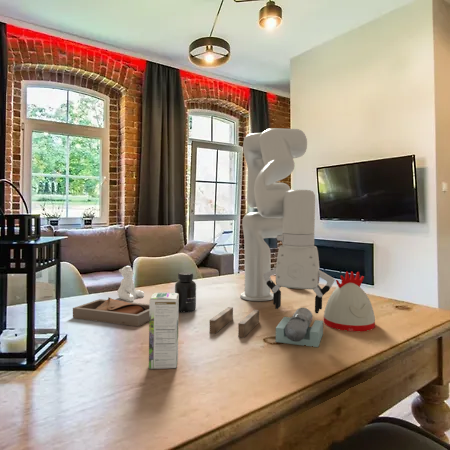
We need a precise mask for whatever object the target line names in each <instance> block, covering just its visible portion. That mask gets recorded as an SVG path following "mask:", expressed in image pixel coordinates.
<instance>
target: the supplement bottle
mask: <svg viewBox="0 0 450 450" xmlns="http://www.w3.org/2000/svg"><path fill="white" fill-rule="evenodd" d="M177 275H178V276H177V279H178V280H177V281H176V282H175V284H174V293H178V294H179V313H192V312H195V311H196V309H197V283H196V282H195V281H194V280H193V279H194V273H193V272H189V271H185V272H179V273H178V274H177Z"/></svg>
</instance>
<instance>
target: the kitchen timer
mask: <svg viewBox="0 0 450 450" xmlns="http://www.w3.org/2000/svg"><path fill="white" fill-rule="evenodd" d="M349 273H350V274H349ZM354 274H355V275H354ZM364 278H365V276H363V275H361V276H360V271H357V272H356V273H354V272H353V271H350V272H349V271H345V276H343V275H340V279H341V283H340V282H339V280H338V279H335V282H336V285H337V287H335V288H334V290H332V291H333V292H331V294H330V296H329V298H328V300H327V301H326V305H325V308H324V311H323V312H324V313H323V324H324V323H325V324H324V325H325V326H327V327H329V328H333V329H335V328H336V329H335V330H338V329H340V330H339V331H344V330H347V332H354V331H360V332H368V331H367V330H369V331H371V329H372V330H374V329H375V328H376V317H375V312H374V309H373V305H372V303H371V300H370V298H369V297H368V294H367V293H366V292H365V291H364V289H363V288H361V285H362V283H363V281H364ZM373 328H374V329H373Z"/></svg>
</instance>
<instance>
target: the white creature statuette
mask: <svg viewBox="0 0 450 450" xmlns="http://www.w3.org/2000/svg"><path fill="white" fill-rule="evenodd" d="M118 271H119V272H118V273H120V274H121V276H122V279H121V281H120V286H119V288H118V289H117V296H118V298H119V299H120V300H122V301H125V302H132V303H133V302H134V301H135V299H137V298H144V297H145V291H142V290H140V289H136V287H135V282H134V279H133V276H134V273H135V272H134V271H133V268H132V267H131V265H126V266H124V267H122V268H120V269H118Z"/></svg>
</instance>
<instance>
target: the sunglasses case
mask: <svg viewBox="0 0 450 450" xmlns="http://www.w3.org/2000/svg"><path fill="white" fill-rule="evenodd" d="M105 300H106V301H105V302H104V303H102V304H101V305H100V306H99V307H97V308H96V310H105V311H113V312H121V313H130V314H139V313H141V312H143V311H145V310H146V309H145V308H144V307H143V306H141V305H137V304H131V303H127V302H128V301H124V300H119V299H114V298H111V297H108V299H105ZM122 323H124V322H122Z"/></svg>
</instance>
